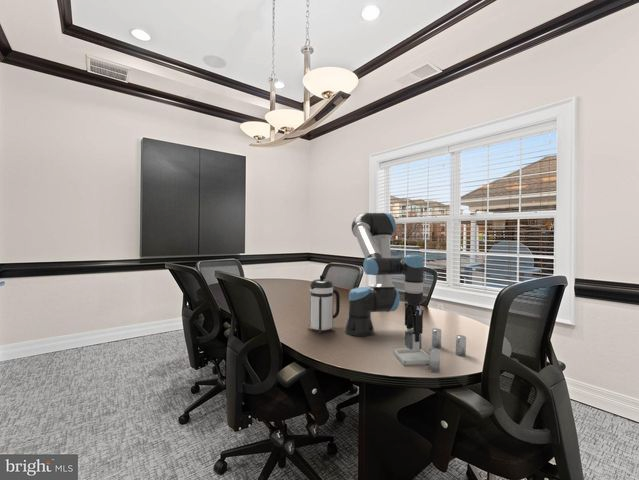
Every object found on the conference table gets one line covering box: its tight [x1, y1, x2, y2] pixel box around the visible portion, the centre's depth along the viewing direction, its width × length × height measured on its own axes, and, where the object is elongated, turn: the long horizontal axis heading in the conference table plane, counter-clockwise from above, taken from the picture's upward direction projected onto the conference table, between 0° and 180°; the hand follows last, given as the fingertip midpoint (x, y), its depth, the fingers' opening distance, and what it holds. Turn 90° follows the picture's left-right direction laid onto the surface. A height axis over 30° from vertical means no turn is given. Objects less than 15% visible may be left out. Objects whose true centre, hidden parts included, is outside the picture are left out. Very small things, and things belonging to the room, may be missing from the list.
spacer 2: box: [428, 347, 441, 373], centre depth 120 cm, size 4×4×8 cm
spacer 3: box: [455, 334, 467, 357], centre depth 135 cm, size 4×4×8 cm
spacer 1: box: [431, 327, 442, 349], centre depth 145 cm, size 4×4×8 cm
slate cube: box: [404, 330, 422, 349], centre depth 130 cm, size 5×5×6 cm
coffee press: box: [307, 274, 341, 335], centre depth 168 cm, size 17×16×30 cm
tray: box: [392, 347, 429, 367], centre depth 131 cm, size 13×13×2 cm
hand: (413, 346), depth 131 cm, fingers closed on slate cube, 5 cm apart
